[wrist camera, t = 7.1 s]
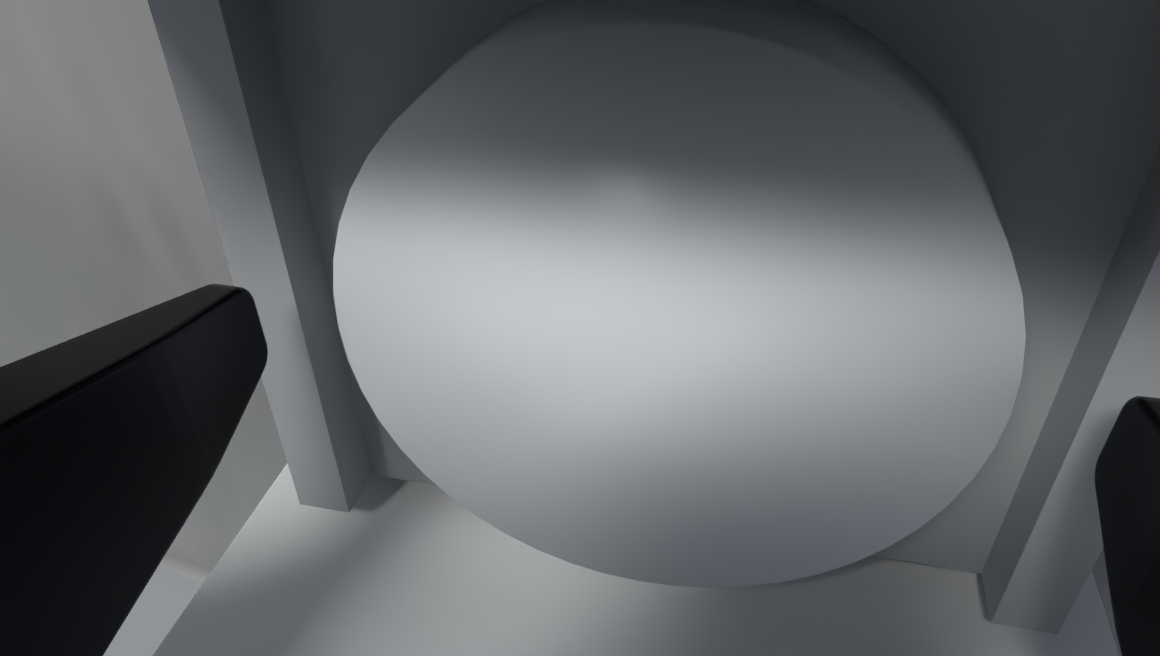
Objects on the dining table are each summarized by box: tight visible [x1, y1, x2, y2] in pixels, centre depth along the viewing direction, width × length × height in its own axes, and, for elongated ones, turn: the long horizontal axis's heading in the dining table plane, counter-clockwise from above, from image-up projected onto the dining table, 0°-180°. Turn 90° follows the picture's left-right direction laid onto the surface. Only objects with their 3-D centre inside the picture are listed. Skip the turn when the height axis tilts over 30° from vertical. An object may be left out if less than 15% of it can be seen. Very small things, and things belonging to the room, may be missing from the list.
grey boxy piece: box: [148, 0, 1160, 656], centre depth 8 cm, size 12×11×6 cm
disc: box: [333, 0, 1026, 588], centre depth 9 cm, size 7×7×2 cm
